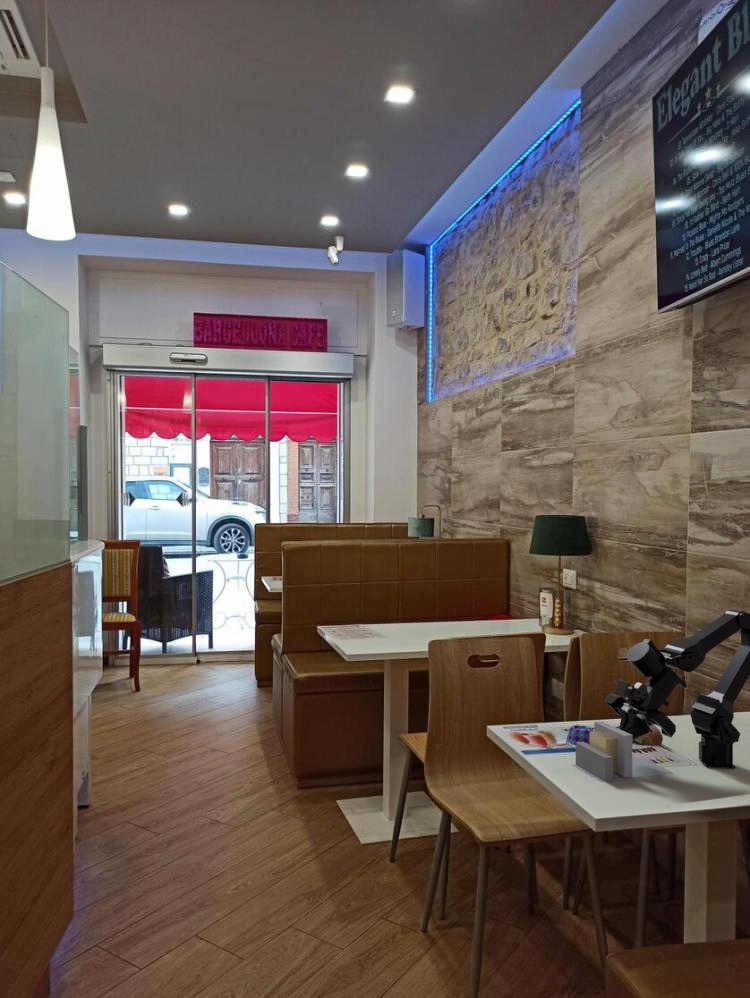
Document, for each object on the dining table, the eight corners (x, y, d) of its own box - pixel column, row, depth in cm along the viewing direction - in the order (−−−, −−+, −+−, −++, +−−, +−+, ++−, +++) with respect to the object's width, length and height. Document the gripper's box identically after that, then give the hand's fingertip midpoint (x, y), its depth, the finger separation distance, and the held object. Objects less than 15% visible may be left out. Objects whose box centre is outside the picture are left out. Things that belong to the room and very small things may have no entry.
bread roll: (666, 762, 187) (674, 731, 189) (643, 751, 182) (652, 719, 184) (632, 751, 195) (641, 722, 197) (610, 740, 190) (618, 710, 192)
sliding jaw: (601, 760, 172) (601, 721, 172) (632, 776, 161) (632, 735, 161) (594, 761, 171) (594, 721, 171) (624, 777, 161) (624, 735, 161)
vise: (641, 763, 175) (641, 735, 175) (673, 779, 165) (673, 750, 165) (571, 771, 169) (571, 742, 169) (600, 788, 159) (601, 758, 159)
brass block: (600, 765, 169) (601, 730, 169) (617, 774, 163) (617, 738, 163) (589, 767, 168) (589, 731, 168) (605, 776, 162) (605, 739, 162)
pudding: (612, 747, 188) (612, 726, 188) (597, 759, 178) (597, 738, 178) (566, 738, 195) (566, 718, 195) (549, 750, 185) (549, 729, 185)
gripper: (610, 659, 177) (571, 710, 174) (663, 676, 160) (621, 733, 156) (638, 688, 180) (600, 740, 176) (694, 708, 162) (653, 766, 159)
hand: (617, 743), depth 167 cm, fingers closed, pressing on sliding jaw
